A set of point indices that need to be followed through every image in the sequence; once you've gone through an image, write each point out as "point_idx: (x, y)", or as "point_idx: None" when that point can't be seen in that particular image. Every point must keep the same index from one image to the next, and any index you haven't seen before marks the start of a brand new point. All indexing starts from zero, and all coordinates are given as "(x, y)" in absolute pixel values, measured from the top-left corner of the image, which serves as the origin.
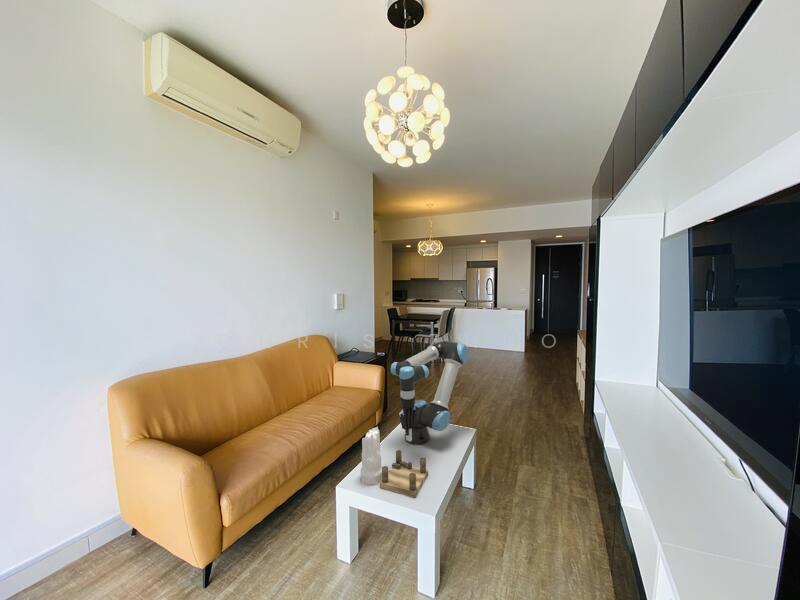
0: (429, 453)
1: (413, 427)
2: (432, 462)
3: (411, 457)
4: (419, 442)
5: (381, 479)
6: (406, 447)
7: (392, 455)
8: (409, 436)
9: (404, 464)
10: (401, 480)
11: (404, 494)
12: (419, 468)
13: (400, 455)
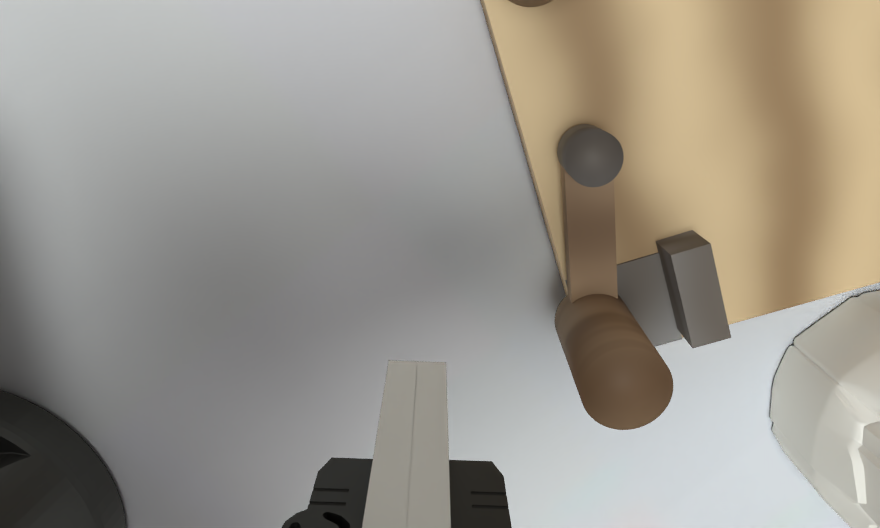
0: (99, 216)
1: (299, 523)
2: (217, 65)
3: (319, 323)
4: (40, 430)
5: (876, 295)
6: (210, 484)
7: None
8: (445, 428)
9: (613, 225)
10: (863, 60)
11: None
12: (510, 46)
13: (628, 330)
